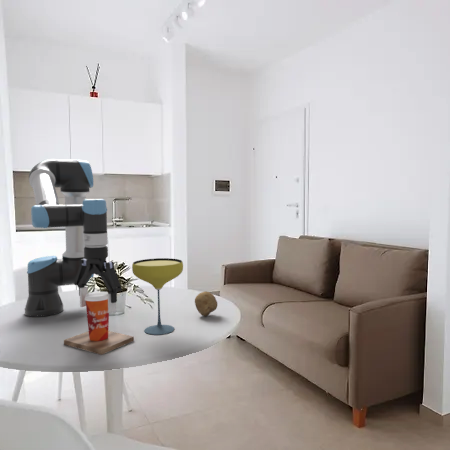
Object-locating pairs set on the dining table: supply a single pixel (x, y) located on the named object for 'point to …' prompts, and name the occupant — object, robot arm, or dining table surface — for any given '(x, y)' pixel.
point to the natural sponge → (205, 303)
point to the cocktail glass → (158, 282)
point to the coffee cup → (97, 315)
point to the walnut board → (99, 342)
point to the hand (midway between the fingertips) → (97, 309)
